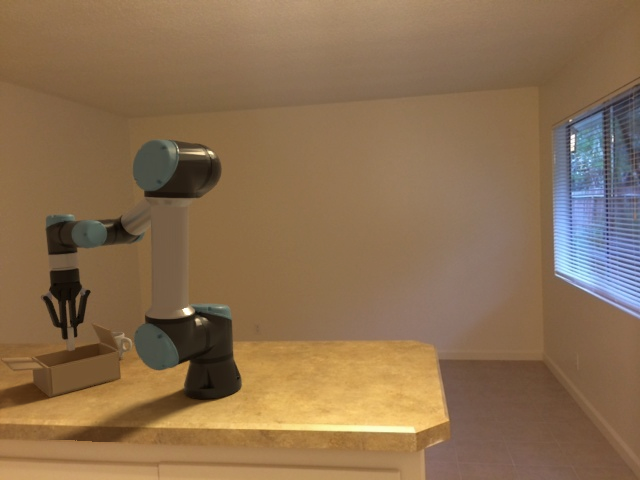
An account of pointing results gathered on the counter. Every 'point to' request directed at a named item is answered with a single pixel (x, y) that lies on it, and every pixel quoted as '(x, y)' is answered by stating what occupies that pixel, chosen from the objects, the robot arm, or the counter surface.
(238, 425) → the counter surface
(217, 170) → the robot arm
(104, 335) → the flap far
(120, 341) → the cup
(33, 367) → the flap near
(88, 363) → the carton
